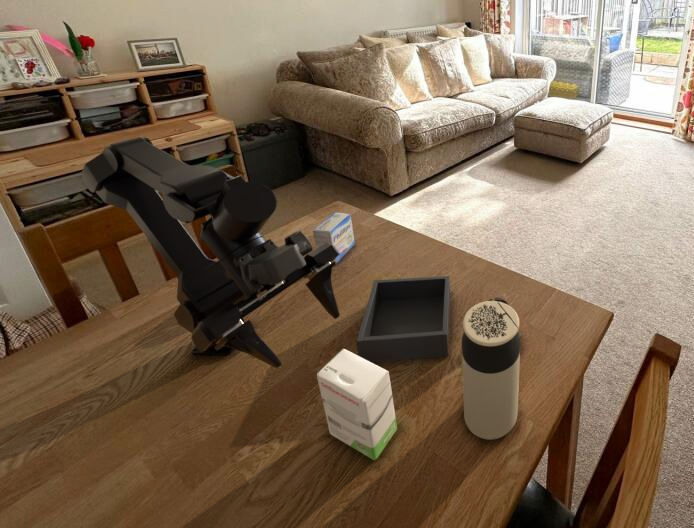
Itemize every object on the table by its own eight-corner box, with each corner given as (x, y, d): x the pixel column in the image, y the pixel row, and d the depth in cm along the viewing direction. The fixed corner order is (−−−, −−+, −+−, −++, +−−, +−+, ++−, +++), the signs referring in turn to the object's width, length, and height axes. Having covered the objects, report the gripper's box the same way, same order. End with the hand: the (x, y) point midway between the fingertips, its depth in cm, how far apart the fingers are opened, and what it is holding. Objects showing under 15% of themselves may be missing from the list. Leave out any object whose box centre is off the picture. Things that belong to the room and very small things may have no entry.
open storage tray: (359, 363, 67) (356, 341, 65) (376, 300, 81) (374, 280, 79) (448, 356, 69) (447, 334, 67) (450, 295, 82) (449, 275, 81)
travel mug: (474, 450, 55) (472, 354, 49) (457, 399, 62) (453, 308, 55) (526, 427, 58) (531, 333, 52) (505, 381, 65) (507, 292, 58)
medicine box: (335, 265, 90) (330, 232, 87) (318, 262, 91) (311, 229, 88) (355, 244, 97) (350, 213, 94) (338, 242, 98) (333, 211, 95)
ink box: (398, 428, 58) (391, 369, 53) (374, 463, 53) (364, 402, 49) (353, 403, 61) (343, 345, 57) (327, 434, 57) (313, 374, 52)
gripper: (176, 268, 44) (262, 384, 43) (322, 195, 59) (386, 279, 59) (160, 300, 50) (235, 402, 49) (295, 226, 65) (353, 303, 65)
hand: (310, 340), depth 55 cm, fingers open, 9 cm apart
